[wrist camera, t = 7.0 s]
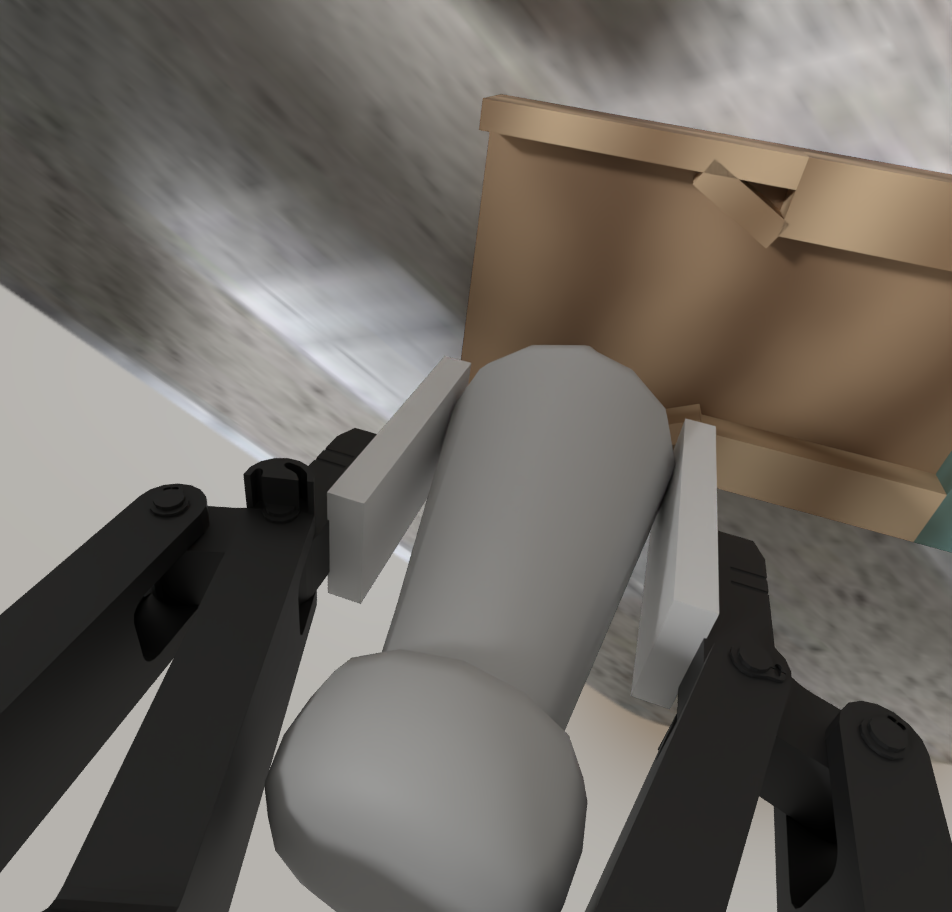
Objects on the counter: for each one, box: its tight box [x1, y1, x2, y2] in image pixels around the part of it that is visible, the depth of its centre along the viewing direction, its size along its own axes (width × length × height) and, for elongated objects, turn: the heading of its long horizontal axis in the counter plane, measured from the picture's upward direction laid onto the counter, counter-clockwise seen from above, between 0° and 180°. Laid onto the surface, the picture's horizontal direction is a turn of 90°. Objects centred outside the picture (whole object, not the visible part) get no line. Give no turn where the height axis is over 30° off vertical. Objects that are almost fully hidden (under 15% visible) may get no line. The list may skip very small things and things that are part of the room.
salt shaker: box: [264, 345, 675, 912], centre depth 13 cm, size 6×6×13 cm
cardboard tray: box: [461, 94, 952, 553], centre depth 25 cm, size 22×13×2 cm, turn 82°
